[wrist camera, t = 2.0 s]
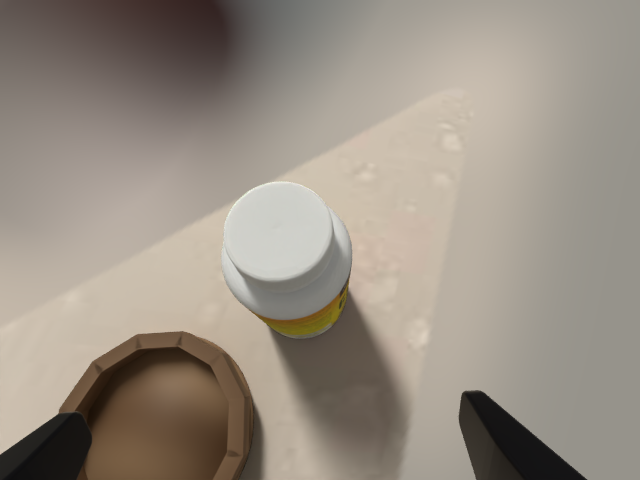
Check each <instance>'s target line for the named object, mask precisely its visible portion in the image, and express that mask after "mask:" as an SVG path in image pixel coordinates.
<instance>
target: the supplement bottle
mask: <svg viewBox="0 0 640 480" xmlns="http://www.w3.org/2000/svg"><path fill="white" fill-rule="evenodd" d="M223 236H224V243H223V247H222V255H221V264H222V271H223V275H224V278H225V281H226V283H227V285H228V287H229V289H230V291H231V292H232V293H233V295H234V296H235V297H236V298H237V299H238V301H239V302H240V303H242V304H243V305H244V306H245V307H246V308H247V309H249V310H250V311H251V312H252V313H254V314H255V315H256V316H257V317H259V318H260V319H261V320H262V321H264V322H265V323H266V324H267V325H269V326H270V327H271V328H272V329H273V330H275V331H276V332H278V333H280V334H282V335H284V336H287V337H291V338H297V339H304V338H311V337H315V336H317V335H320V334H322V333H324V332H325V331H327V330H328V329H329V328H331V327H332V326H333V325H334V324H335V323H336V321H337V320H338V319H339V317H340V316H341V314H342V312H343V309H344V307H345V303H346V298H347V292H348V285H349V278H350V271H351V265H352V245H351V240H350V236H349V234H348V231H347V229H346V227H345V225H344V223H343V221H342V220H341V219H340V217H339V216H338V215H337V214H336V213H335V212H334V211H333V210H332V209H331V208H330V207H328V206H327V205H326V204H325V203H324V201H323V200H322V199H321V198H320V197H319V196H318V195H317V194H316V193H315V192H314V191H312V190H311V189H309V188H307V187H305V186H303V185H300V184H297V183H292V182H284V181H280V182H271V183H266V184H263V185H260V186H258V187H256V188H254V189H252V190H250V191H248V192H247V193H246V194H244V195H243V196H242V197H241V198H240V199H239V200H238V201H237V202H236V203H235V204H234V205H233V207H232V209H231V210H230V212H229V214H228V216H227V218H226V222H225V225H224V233H223Z"/></svg>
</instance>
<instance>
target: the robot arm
mask: <svg viewBox="0 0 640 480" xmlns="http://www.w3.org/2000/svg"><path fill="white" fill-rule="evenodd" d="M459 424H460V428H461V431H462V434H463V438H464V441H465V444H466V447H467V450H468V454H469V457H470V460H471V463H472V467H473V470H474V473H475V477H476V480H587V479H586V478H585V477H583V476H582V475H581V474H580V473H578V471H576V470H575V469H574V468H573V467H572V466H570V465H569V464H568V463H567V462H565V461H564V460H563V459H562V458H561V457H560V456H558V455H557V454H556V453H555V452H554V451H553V450H551V449H550V448H549V447H548V446H546V445H545V444H544V443H543V442H542V441H541V440H539V439H538V438H537V437H536V436H535V435H534V434H532V433H531V432H530V431H529V430H528V429H526V428H525V427H524V426H523V425H522V424H521V423H519V422H518V421H517V420H516V419H515V418H513V417H512V416H511V415H510V414H509V413H508V412H506V411H505V410H504V409H503V408H502V407H500V406H499V405H498V404H497V403H496V402H494V401H493V400H492V399H491V398H490V397H489V396H487V395H486V394H485V393H484V392H482V391H478V390H475V391H464V392H463V393H462V396H461V403H460V411H459ZM91 444H92V433H91V431H90V429H89V427H88V424H87V422H86V420H85V418H84V416H83V414H82V413H80V412H77V411H75V412H63V413H60V414H58V415H56V416H55V417H53V418H52V419H51V420H49V421H48V422H46V423H45V424H43V425H42V426H41V427H39V428H38V429H36V430H35V431H33V432H32V433H31V434H29V435H28V436H26V437H25V438H23V439H22V440H21V441H19V442H18V443H16V444H15V445H13V446H12V447H11V448H9V449H8V450H6V451H5V452H3V453H2V454H1V455H0V480H77V478H78V476H79V473H80V471H81V469H82V466H83V464H84V462H85V459H86V457H87V454H88V452H89V450H90V447H91Z"/></svg>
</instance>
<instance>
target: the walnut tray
mask: <svg viewBox="0 0 640 480" xmlns="http://www.w3.org/2000/svg"><path fill="white" fill-rule="evenodd" d="M75 411H77V412H80V413H82V414H83V416H84V418H85V420H86V422H87V424H88V427H89V429H90V431H91V433H92V444H91V447H90V450H89V452H88V454H87V457H86V459H85V462H84V464H83V466H82V469H81V471H80V473H79V476H78V478H77V480H238V479H239V477H240V475H241V473H242V470H243V468H244V466H245V463H246V461H247V457H248V454H249V451H250V447H251V441H252V436H253V424H254V418H253V405H252V399H251V394H250V391H249V387H248V384H247V382H246V380H245V377H244V375H243V373H242V372H241V370H240V368H239V367H238V365H237V364H236V362H235V361H234V360H233V359H232V358H231V356H230V355H228V354H227V353H226V352H225V351H224V350H223V349H222V348H220V347H219V346H217V345H216V344H214V343H212V342H210V341H208V340H206V339H203V338H199V337H196V336H194V335H193V334H190V333H187V332H183V331H181V332H165V333H150V334H137V335H135V336H133V337H132V338H130V339H129V340H127V341H125V342H124V343H122V344H120V345H119V346H117V347H115V348H114V349H112V350H111V351H109V352H107V353H106V354H104V355H102V356H101V357H99V358H98V359H96V360H94V361H93V362H92V363H91V365H90V366H89V367H88V369H87V370H86V372H85V373H84V375H83V376H82V377H81V379H80V380H79V382H78V383H77V385H76V386H75V387H74V389H73V390H72V392H71V393H70V395H69V396H68V397H67V399H66V400H65V402H64V403H63V405H62V406H61V407H60V409H59V413H58V414H60V413H63V412H75Z"/></svg>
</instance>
